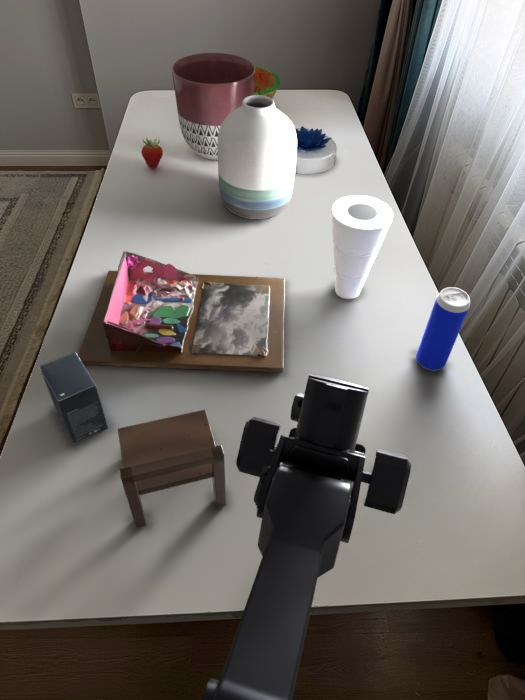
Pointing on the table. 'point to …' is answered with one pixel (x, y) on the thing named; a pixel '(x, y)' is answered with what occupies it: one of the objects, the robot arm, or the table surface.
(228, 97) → the planter
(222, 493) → the brown legged wooden frame
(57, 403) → the box
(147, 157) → the fruit
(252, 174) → the vase
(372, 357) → the table surface
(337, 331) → the table surface
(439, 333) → the beverage can
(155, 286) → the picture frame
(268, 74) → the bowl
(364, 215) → the stacked toilet paper rolls
